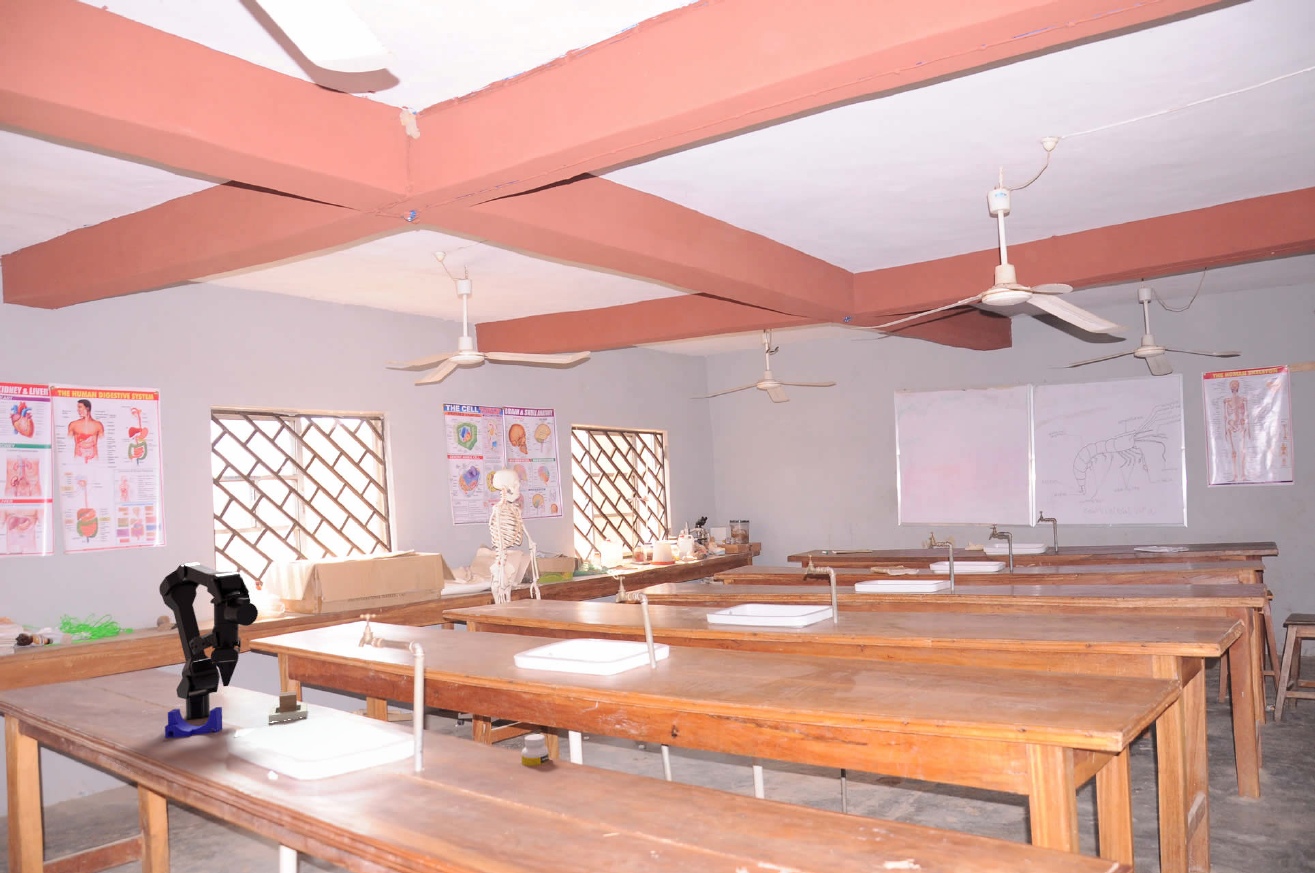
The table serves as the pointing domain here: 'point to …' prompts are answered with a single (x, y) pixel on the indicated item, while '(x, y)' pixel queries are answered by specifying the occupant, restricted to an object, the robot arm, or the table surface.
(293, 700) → the walnut peg block
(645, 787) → the table surface
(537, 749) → the supplement bottle
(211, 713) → the cable clip
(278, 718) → the frame
